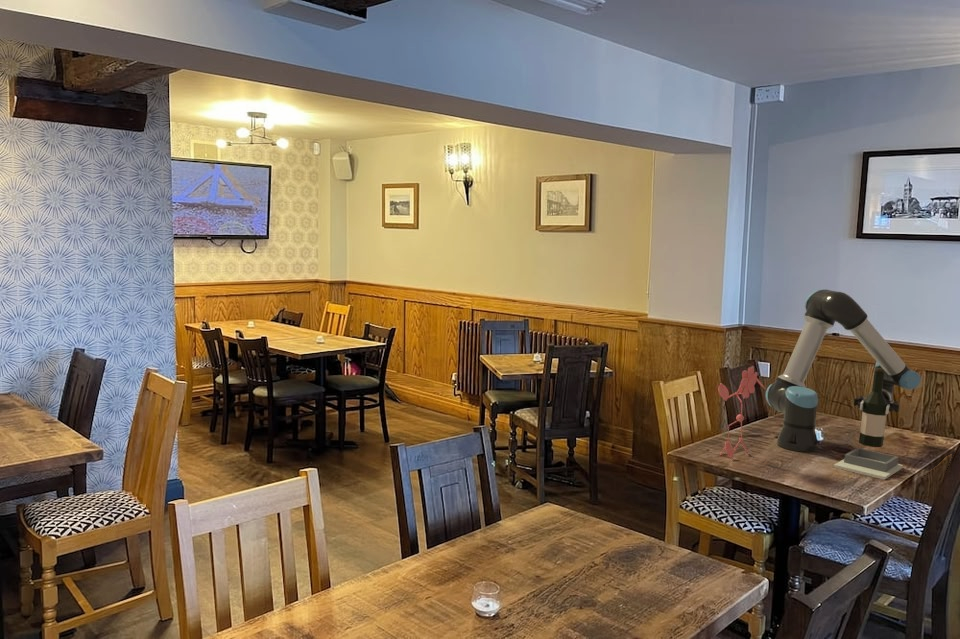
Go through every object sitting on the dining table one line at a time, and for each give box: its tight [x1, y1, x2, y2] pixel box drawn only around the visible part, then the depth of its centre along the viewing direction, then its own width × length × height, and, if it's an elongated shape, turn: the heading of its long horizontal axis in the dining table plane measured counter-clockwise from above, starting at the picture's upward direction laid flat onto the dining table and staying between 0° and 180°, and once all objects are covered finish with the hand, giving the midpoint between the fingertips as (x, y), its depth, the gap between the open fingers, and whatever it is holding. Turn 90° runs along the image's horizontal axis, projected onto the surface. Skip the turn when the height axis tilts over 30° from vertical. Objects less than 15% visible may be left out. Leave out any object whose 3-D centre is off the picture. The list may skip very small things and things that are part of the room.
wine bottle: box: [858, 368, 888, 448], centre depth 276 cm, size 8×8×30 cm
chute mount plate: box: [833, 447, 904, 481], centre depth 261 cm, size 21×17×4 cm
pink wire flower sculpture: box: [709, 365, 767, 460], centre depth 265 cm, size 15×26×35 cm, turn 130°
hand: (873, 408), depth 272 cm, fingers closed on wine bottle, 8 cm apart
